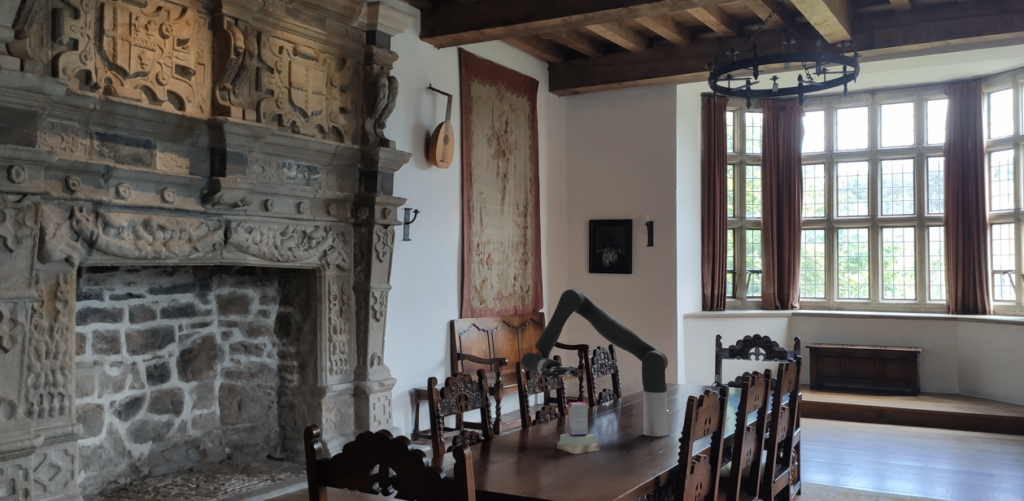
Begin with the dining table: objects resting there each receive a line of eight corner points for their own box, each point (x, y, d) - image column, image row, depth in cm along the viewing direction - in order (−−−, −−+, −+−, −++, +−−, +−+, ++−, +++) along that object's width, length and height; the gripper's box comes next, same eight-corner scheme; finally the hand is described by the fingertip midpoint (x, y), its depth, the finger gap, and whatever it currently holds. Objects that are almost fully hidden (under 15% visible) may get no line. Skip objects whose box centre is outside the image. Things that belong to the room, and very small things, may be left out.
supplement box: (588, 435, 278) (587, 403, 279) (572, 436, 277) (571, 404, 278) (584, 432, 284) (583, 401, 285) (568, 433, 283) (567, 402, 284)
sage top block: (577, 439, 287) (577, 431, 287) (595, 443, 280) (595, 435, 280) (560, 443, 281) (560, 434, 281) (578, 446, 274) (578, 438, 274)
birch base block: (581, 446, 288) (581, 438, 288) (599, 452, 279) (599, 444, 279) (557, 450, 283) (557, 442, 283) (575, 456, 273) (575, 447, 273)
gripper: (533, 360, 307) (549, 366, 292) (565, 358, 312) (583, 363, 297) (533, 379, 307) (550, 386, 292) (565, 376, 312) (583, 383, 297)
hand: (566, 374), depth 295 cm, fingers open, 8 cm apart
